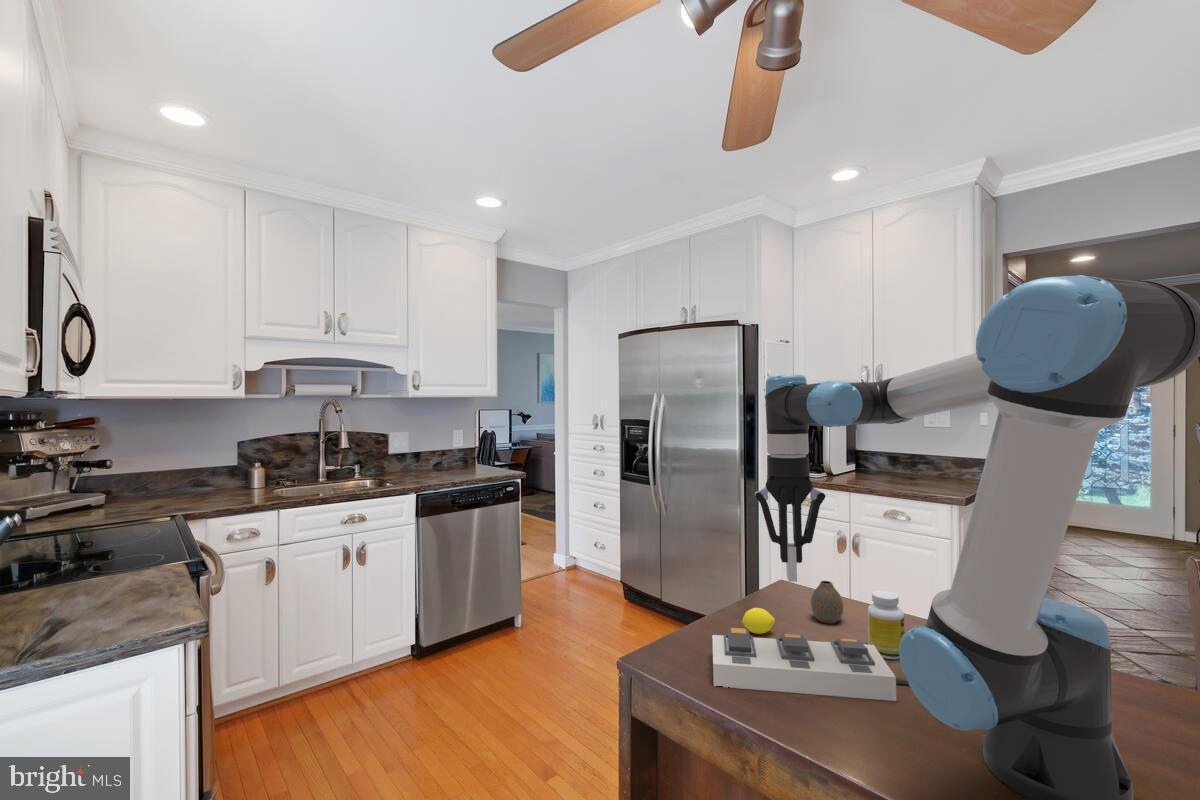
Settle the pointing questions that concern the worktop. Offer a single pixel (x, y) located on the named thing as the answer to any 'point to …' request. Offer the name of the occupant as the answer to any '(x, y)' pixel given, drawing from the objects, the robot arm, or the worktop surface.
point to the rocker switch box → (804, 669)
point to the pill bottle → (885, 624)
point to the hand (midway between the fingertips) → (791, 579)
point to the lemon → (758, 620)
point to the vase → (827, 603)
